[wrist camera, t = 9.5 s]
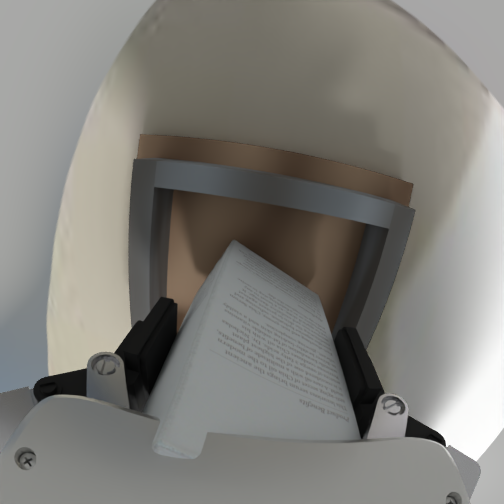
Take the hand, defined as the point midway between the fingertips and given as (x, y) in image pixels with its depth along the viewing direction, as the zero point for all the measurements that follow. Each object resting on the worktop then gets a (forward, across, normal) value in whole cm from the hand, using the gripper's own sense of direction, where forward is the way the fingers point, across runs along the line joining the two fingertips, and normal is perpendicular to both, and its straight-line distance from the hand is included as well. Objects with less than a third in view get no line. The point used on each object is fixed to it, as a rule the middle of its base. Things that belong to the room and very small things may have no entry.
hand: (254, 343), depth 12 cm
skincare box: (+5, 0, 0) cm, 5 cm away
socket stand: (+7, 0, 0) cm, 7 cm away
